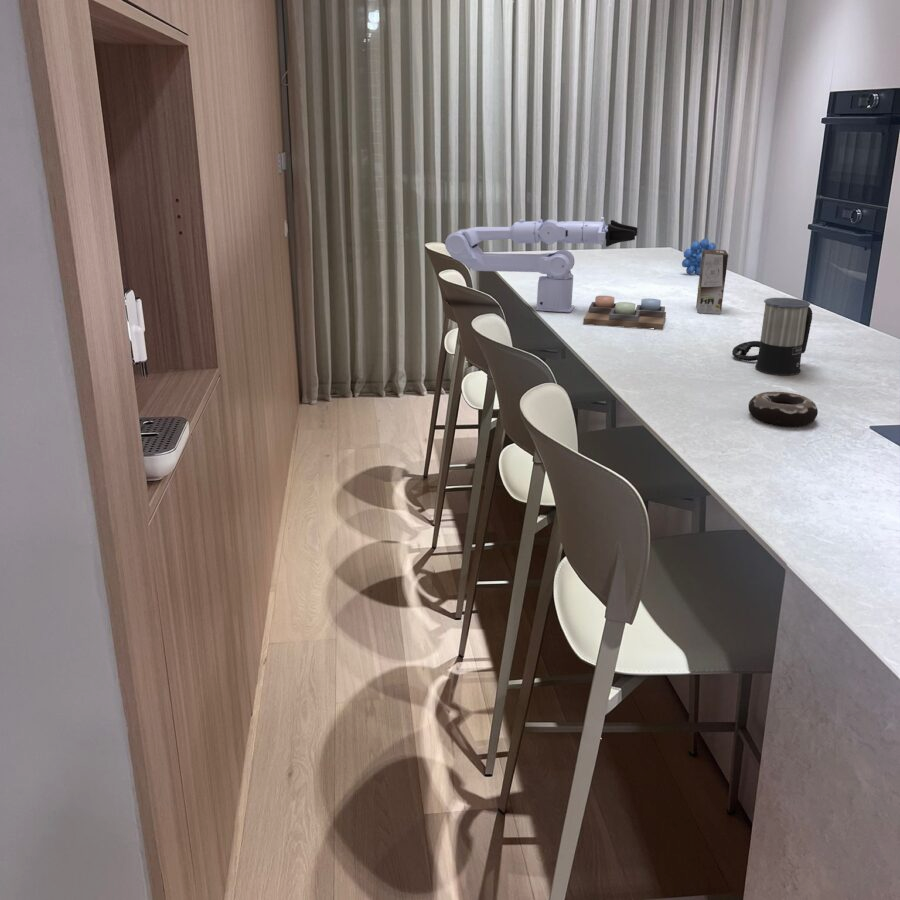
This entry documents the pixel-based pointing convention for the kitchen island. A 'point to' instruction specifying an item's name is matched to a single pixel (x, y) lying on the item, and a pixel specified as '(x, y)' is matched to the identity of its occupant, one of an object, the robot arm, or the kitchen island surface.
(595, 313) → the panel
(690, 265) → the grapes
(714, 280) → the coffee box
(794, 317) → the milk frother
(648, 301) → the button slate
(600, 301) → the button terracotta
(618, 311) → the button sage
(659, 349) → the kitchen island surface
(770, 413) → the donut
